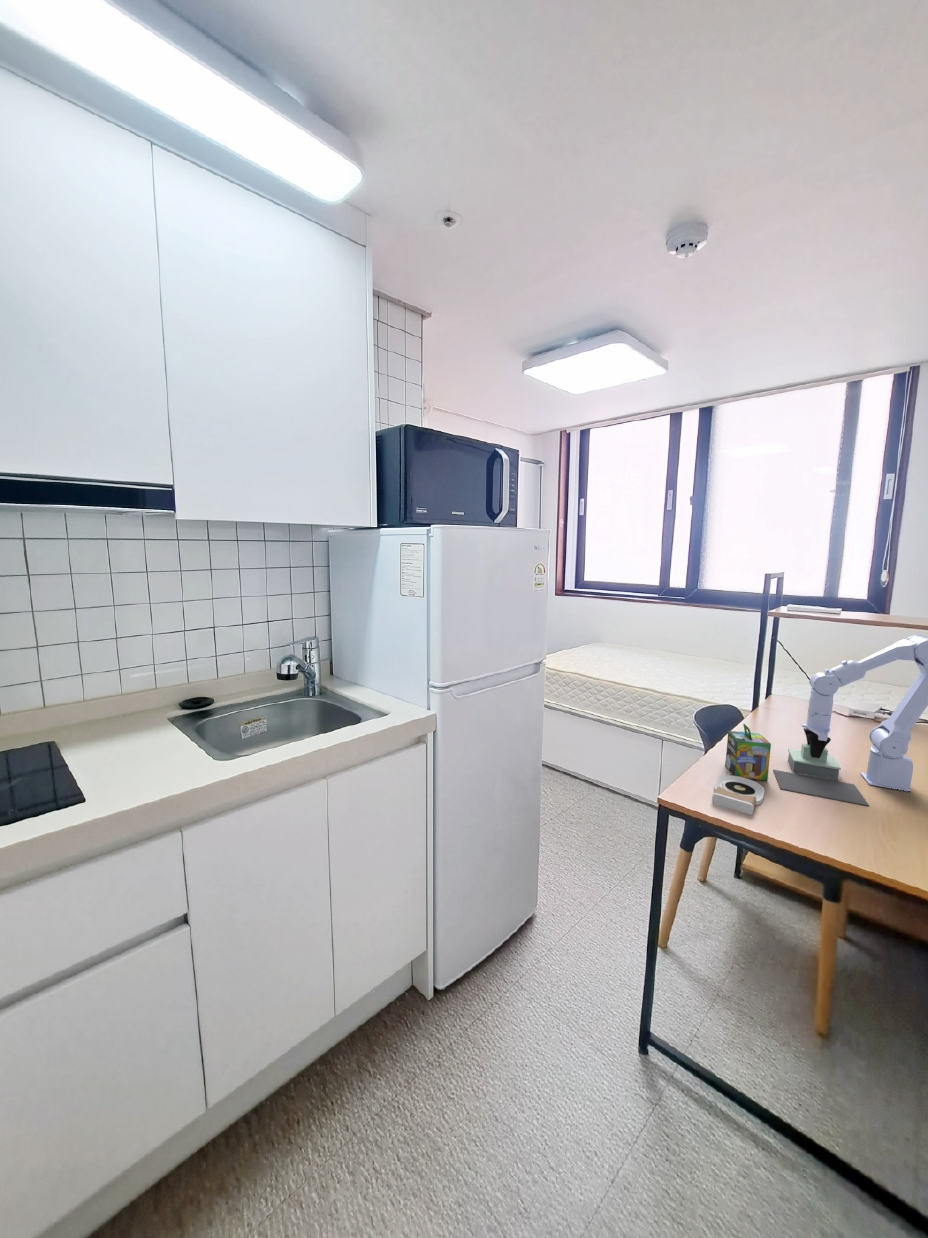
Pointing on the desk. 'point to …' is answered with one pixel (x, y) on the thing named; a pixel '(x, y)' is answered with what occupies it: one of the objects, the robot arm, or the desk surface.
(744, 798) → the record player
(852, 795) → the rubber mat
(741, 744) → the chalk box
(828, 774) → the chalk tray box
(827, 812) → the desk surface
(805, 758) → the lid
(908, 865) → the desk surface
